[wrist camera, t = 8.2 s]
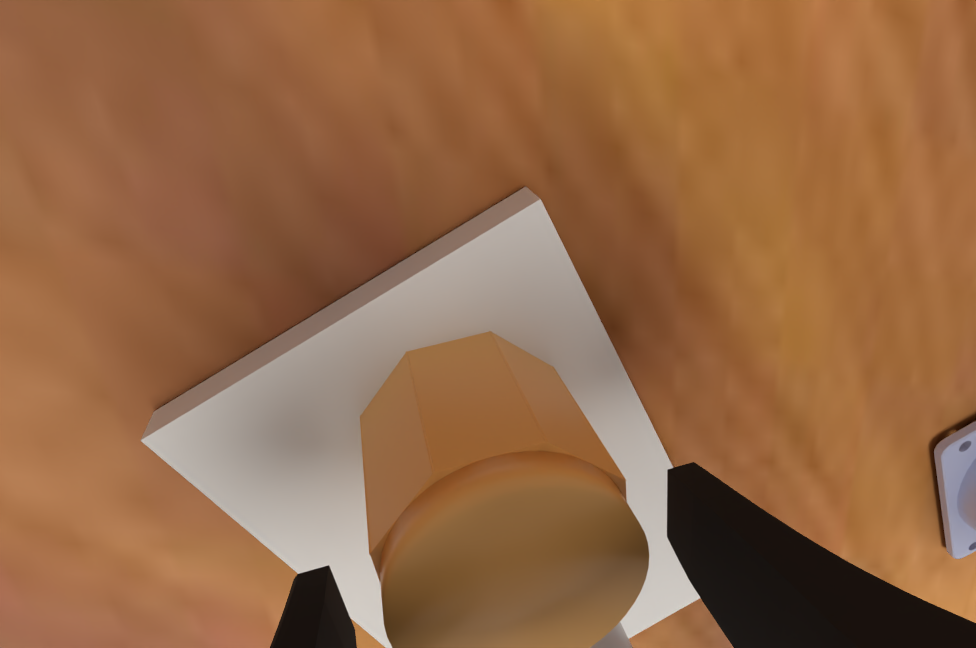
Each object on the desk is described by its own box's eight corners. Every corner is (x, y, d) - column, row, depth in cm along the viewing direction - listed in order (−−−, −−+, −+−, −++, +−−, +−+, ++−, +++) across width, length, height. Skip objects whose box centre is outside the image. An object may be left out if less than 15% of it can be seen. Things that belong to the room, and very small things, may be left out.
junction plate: (525, 186, 15) (653, 294, 9) (711, 555, 23) (839, 735, 17) (153, 411, 15) (41, 657, 9) (470, 693, 23) (516, 914, 18)
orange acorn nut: (548, 316, 15) (648, 453, 10) (564, 469, 18) (650, 636, 13) (343, 366, 14) (349, 538, 10) (391, 518, 17) (414, 714, 12)
